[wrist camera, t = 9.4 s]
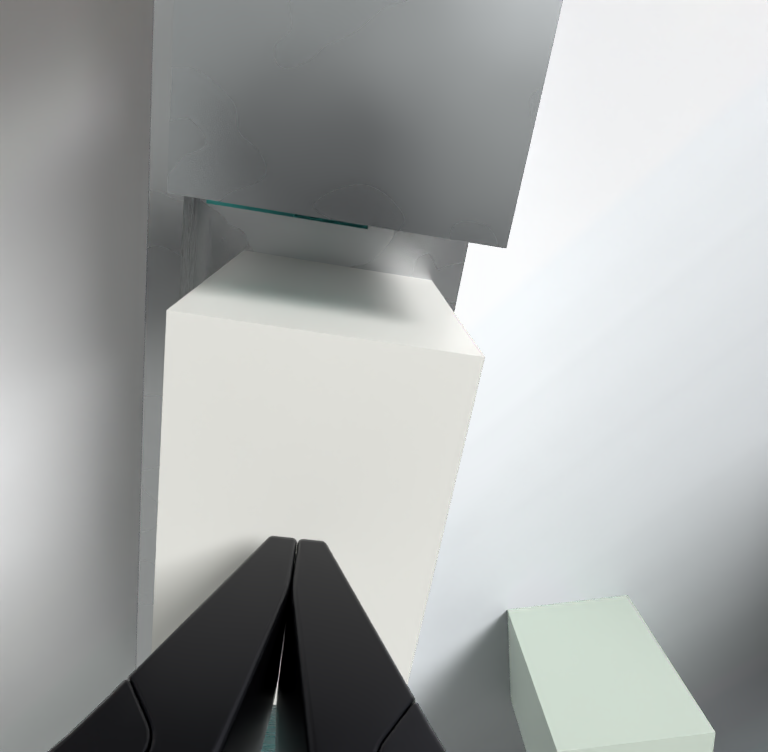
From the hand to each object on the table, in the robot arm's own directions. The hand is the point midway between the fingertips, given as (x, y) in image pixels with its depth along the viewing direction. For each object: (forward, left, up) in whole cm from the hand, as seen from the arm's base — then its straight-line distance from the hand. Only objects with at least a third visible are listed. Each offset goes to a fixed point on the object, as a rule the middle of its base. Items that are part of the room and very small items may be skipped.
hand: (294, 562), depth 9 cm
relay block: (-10, +8, -8) cm, 15 cm away
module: (0, 0, -7) cm, 7 cm away
